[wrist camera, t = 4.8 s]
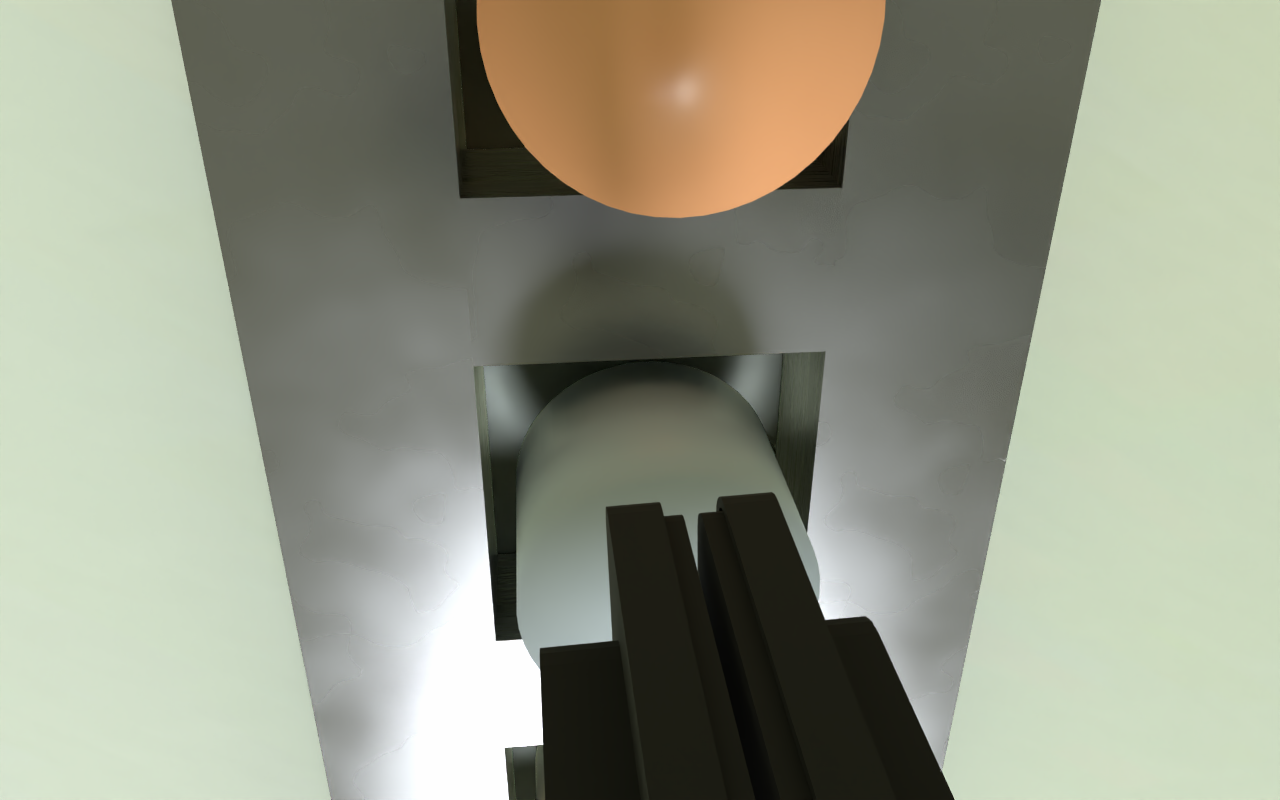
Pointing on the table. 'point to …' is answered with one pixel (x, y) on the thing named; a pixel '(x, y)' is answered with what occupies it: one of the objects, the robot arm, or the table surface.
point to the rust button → (678, 92)
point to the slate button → (628, 484)
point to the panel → (611, 340)
